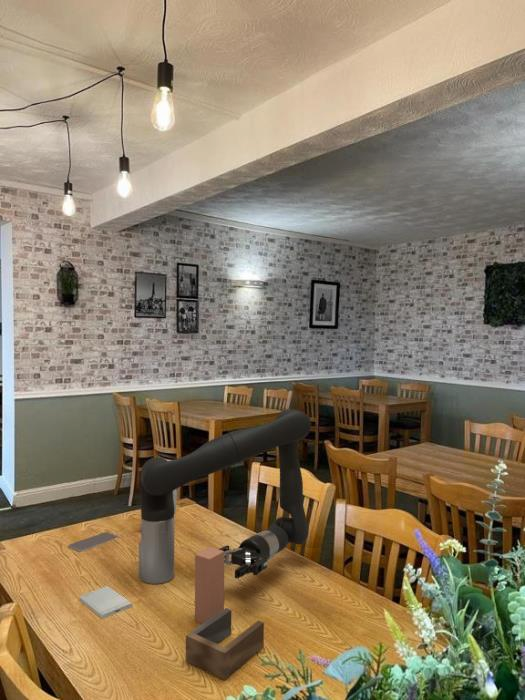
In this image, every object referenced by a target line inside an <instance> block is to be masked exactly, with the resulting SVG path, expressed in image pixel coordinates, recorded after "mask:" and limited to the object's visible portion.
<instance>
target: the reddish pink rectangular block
mask: <svg viewBox="0 0 525 700" xmlns="http://www.w3.org/2000/svg"><path fill="white" fill-rule="evenodd" d="M219 549H220V548H218V549H217V548H215V547H212V546H209V547H208V548H205V549H203V550H201V551H198V553H195V554H194V556H195V557H194V621H195V622H197V623H199V624H201V625H202V624H203V623H205V622H206V621H208V620H209V619H211V618H212V617H214V616H215V615H217V614H218V613H220V612H221V611H223V610H224V609H225V564H224V560H225V558H224V551H222V550H219Z"/></svg>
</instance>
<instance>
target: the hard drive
mask: <svg viewBox="0 0 525 700" xmlns="http://www.w3.org/2000/svg"><path fill="white" fill-rule="evenodd" d="M78 600H79V602H81V603H82V604H83V605H85V606H86V607H87V609H89V610H90V611H92V612H93V613H94V614H96V616H98V617H99V618H101V620H103V619H105V618H109V617H111V616H113V615H116V614H118V613H120V612H123V611H125V610H129V609H131V608H133V603H132V602H130V601H129V600H128V599H126V598H125V597H124V596H123V595H122V594H121V595H120V593H118V592H117V591H115V590H114V589H113V588H112V587H110V586H103V587H102V588H101V587H100V588H98V589H96V590H93V591H90V592H87V593H84V594H82V595H80V596H79V598H78Z"/></svg>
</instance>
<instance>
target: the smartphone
mask: <svg viewBox="0 0 525 700" xmlns="http://www.w3.org/2000/svg"><path fill="white" fill-rule="evenodd" d="M115 538H118V539H119V536H118V535H116V534H113V533H110V532H108V531H105V532H101V533H98V534H96V535H92V536H90V537H87V538H84V539H80V540H77V541H75V542H73V543H70V544H68V546H67V547H68V548H69V549H71V550H73V551H74V552H78V553H83V552H82V551H84V552H86V551H89V550H92V549H94V548H97V547H99V546H98V545H100V546H102V545H104V544H103V543H105V544H107V543H106V542H108V541H110V540H113V539H115ZM113 541H114V540H113ZM110 542H111V541H110ZM108 543H109V542H108ZM101 544H102V545H101ZM96 546H97V547H96ZM93 547H94V548H93ZM91 548H92V549H91ZM88 549H89V550H88ZM85 550H86V551H85Z"/></svg>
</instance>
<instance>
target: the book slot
mask: <svg viewBox="0 0 525 700" xmlns="http://www.w3.org/2000/svg"><path fill="white" fill-rule="evenodd" d="M264 625H265V622H264V621H261V620H257V621H255V622H254V623H253V624H251V625H250V626H249V627H248V628H246V629H245V630H244V631H242V632H241V633H240V634H239V635H238V636H236V637H235V638H234V639H232V640H231V641H229V642H228V643H227V644H226V645H224V646H223V645H221V644H219V643H222V641H223V640H225V639H227V637H229V636H230V635H232V609H231V608H227V607H224V610H223V611H221V612H220V613H218V614H217V615H215V616H214V617H212V618H211V619H209V620H208V621H206V622H205V623H203V624H202V623H201V624H200V625H199V626H198V627H196V628H195V629H194V630H191V631H190V632H189V633H188V634H185V662H186V663H187V664H188V663H189V664H190V665H192V666H194V667H197V668H199V669H201V670H202V671H205V672H207V673H209V674H210V675H213V676H215V677H217V678H219V679H220V680H223V681H226V680H227V679H229V678H230V677H231V676H232V675H233V674H234V673H235V672H237V671H238V670H240V668H241V667H243V665H245V664H247V662H248V661H249V660H250V658H251V657H252V656H253V657H254V656H255V655H256V654H257V653H256V652H258V653H259V652H260V651H261V650H262V649H263V648H264V643H265V641H264V639H265V631H264V630H265V629H264V628H265V626H264ZM253 657H252V658H253ZM252 658H251V659H252Z"/></svg>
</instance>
